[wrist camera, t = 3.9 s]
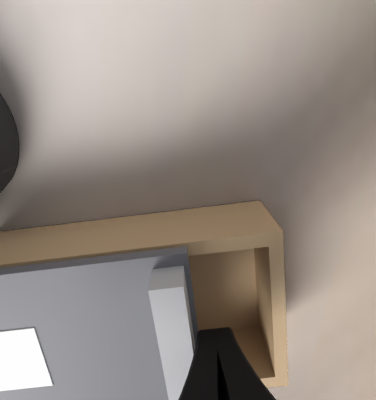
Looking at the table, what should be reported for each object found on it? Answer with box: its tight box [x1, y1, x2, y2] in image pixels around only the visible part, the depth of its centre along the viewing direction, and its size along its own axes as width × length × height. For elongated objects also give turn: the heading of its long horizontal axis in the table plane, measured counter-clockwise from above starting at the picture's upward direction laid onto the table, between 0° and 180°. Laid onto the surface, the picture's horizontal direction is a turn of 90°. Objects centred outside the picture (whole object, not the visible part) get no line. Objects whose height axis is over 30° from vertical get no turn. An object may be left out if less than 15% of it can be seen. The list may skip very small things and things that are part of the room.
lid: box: [0, 246, 199, 400], centre depth 13 cm, size 14×8×2 cm, turn 97°
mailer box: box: [0, 200, 288, 388], centre depth 16 cm, size 14×8×4 cm, turn 97°
